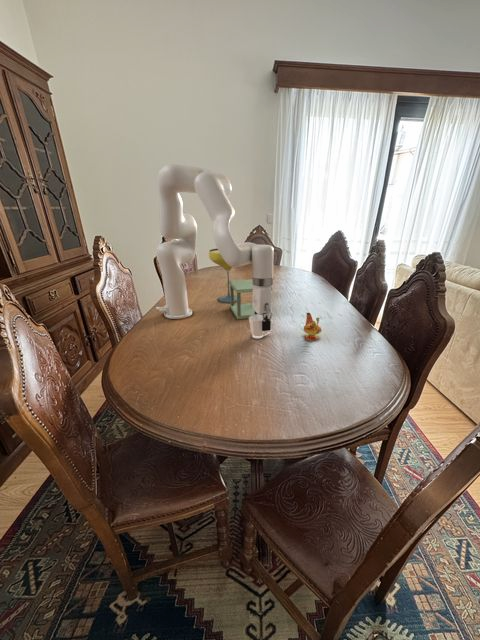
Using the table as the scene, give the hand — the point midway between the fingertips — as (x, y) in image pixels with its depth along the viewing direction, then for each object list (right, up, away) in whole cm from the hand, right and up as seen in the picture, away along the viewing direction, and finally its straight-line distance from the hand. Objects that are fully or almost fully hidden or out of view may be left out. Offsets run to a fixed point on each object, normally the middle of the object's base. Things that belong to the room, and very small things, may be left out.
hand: (262, 325), depth 110 cm
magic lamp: (+19, -4, +3) cm, 20 cm away
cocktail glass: (-18, +18, +43) cm, 50 cm away
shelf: (-6, +9, +27) cm, 29 cm away
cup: (0, -4, +2) cm, 5 cm away
